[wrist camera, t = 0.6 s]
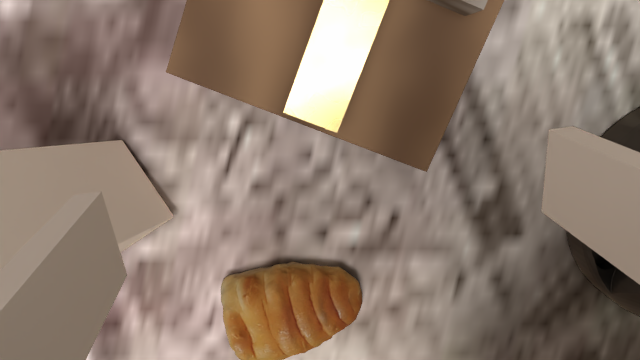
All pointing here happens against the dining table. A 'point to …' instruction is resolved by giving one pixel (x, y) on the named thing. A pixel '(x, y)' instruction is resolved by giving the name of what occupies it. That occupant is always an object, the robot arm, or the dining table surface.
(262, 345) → the pastry
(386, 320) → the dining table surface
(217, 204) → the dining table surface
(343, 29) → the latch bar
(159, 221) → the milk
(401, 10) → the board
